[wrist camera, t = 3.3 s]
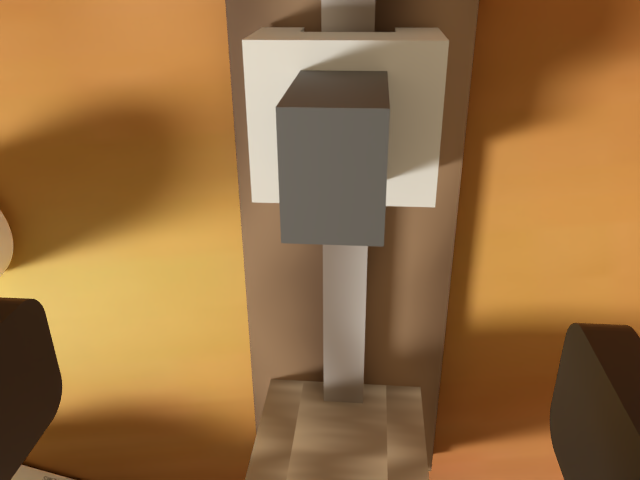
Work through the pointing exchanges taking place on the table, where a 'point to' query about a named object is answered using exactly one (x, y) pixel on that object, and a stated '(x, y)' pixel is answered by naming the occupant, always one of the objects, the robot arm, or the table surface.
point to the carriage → (343, 127)
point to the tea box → (36, 474)
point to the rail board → (404, 232)
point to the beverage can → (5, 244)
